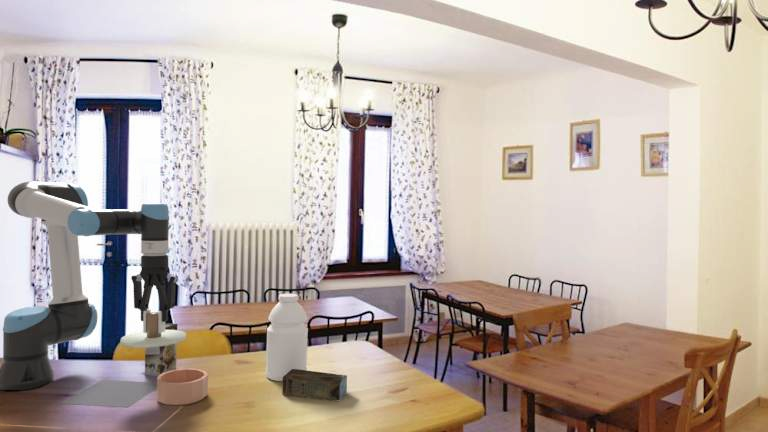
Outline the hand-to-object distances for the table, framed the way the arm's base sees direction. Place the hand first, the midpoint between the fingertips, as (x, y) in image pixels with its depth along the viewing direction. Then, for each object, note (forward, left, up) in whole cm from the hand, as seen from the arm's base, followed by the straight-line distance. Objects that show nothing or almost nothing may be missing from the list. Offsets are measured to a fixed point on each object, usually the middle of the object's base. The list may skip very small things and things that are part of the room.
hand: (154, 331), depth 154 cm
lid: (0, 0, -2) cm, 2 cm away
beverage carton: (+48, +9, -20) cm, 53 cm away
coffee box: (-8, +21, -20) cm, 30 cm away
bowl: (+9, 0, -20) cm, 21 cm away
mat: (-12, 0, -20) cm, 23 cm away
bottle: (+35, +24, -20) cm, 47 cm away
